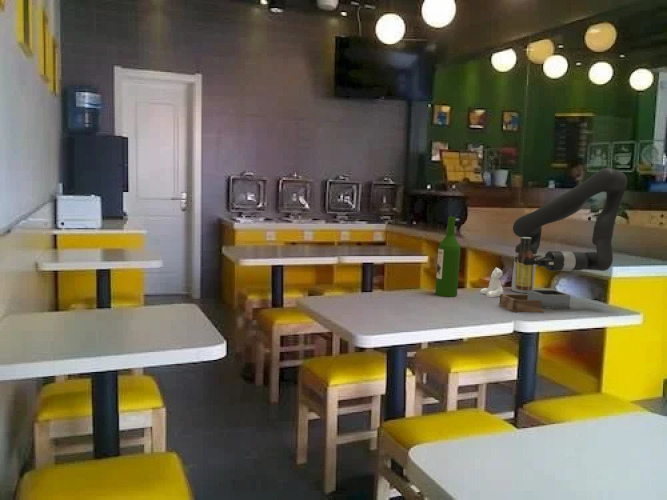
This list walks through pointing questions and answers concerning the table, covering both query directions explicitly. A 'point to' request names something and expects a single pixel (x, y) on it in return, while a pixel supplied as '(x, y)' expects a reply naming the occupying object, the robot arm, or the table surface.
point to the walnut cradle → (519, 303)
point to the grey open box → (550, 298)
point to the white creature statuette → (494, 285)
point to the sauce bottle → (524, 266)
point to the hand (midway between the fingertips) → (519, 260)
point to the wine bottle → (448, 263)
